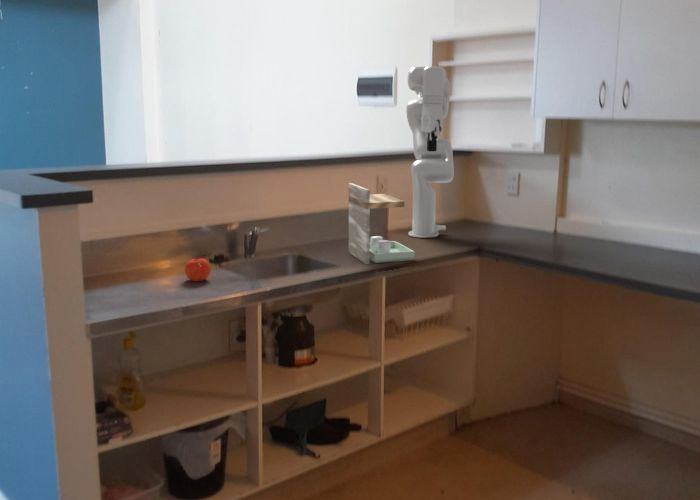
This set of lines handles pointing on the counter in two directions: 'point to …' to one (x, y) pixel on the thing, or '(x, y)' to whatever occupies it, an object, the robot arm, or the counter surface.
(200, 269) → the apple
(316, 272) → the counter surface
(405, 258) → the tray
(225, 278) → the counter surface
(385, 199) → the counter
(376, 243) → the grey rounded piece
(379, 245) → the white egg
